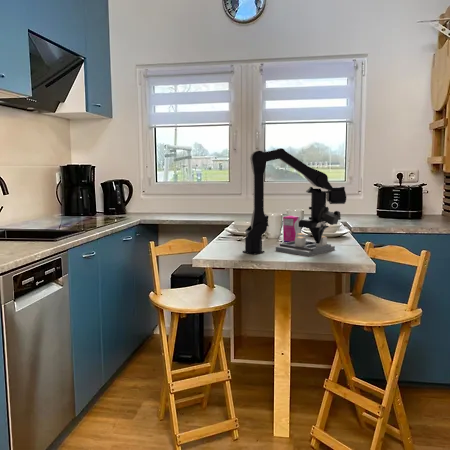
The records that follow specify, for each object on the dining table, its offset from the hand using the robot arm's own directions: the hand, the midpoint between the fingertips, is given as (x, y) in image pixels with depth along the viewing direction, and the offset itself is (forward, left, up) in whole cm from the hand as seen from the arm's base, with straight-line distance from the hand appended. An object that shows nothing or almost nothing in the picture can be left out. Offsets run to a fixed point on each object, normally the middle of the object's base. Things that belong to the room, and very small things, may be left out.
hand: (317, 243), depth 182 cm
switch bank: (-1, +5, -3) cm, 6 cm away
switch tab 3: (+3, 0, -2) cm, 3 cm away
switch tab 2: (-5, +5, -2) cm, 7 cm away
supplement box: (+11, +21, -4) cm, 24 cm away
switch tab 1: (+2, +10, -2) cm, 10 cm away
